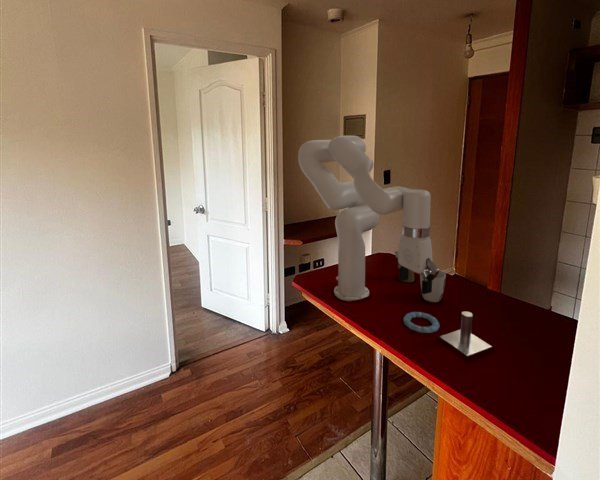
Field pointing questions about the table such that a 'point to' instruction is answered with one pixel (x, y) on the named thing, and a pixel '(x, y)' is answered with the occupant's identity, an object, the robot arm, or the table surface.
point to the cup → (435, 287)
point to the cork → (410, 277)
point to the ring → (429, 329)
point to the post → (466, 337)
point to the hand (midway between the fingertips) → (414, 286)
